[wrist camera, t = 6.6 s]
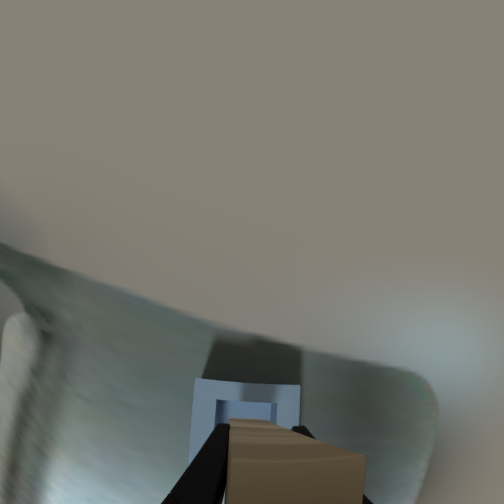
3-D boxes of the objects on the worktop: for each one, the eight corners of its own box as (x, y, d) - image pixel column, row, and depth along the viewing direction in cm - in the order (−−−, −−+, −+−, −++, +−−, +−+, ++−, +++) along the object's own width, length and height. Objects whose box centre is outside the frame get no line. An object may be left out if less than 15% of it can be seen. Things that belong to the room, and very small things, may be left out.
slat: (261, 467, 13) (344, 592, 2) (225, 465, 13) (223, 601, 2) (264, 419, 15) (366, 455, 3) (228, 417, 15) (231, 461, 3)
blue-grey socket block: (284, 477, 18) (294, 488, 15) (192, 471, 18) (187, 482, 14) (290, 387, 22) (300, 384, 18) (200, 381, 21) (195, 377, 18)
